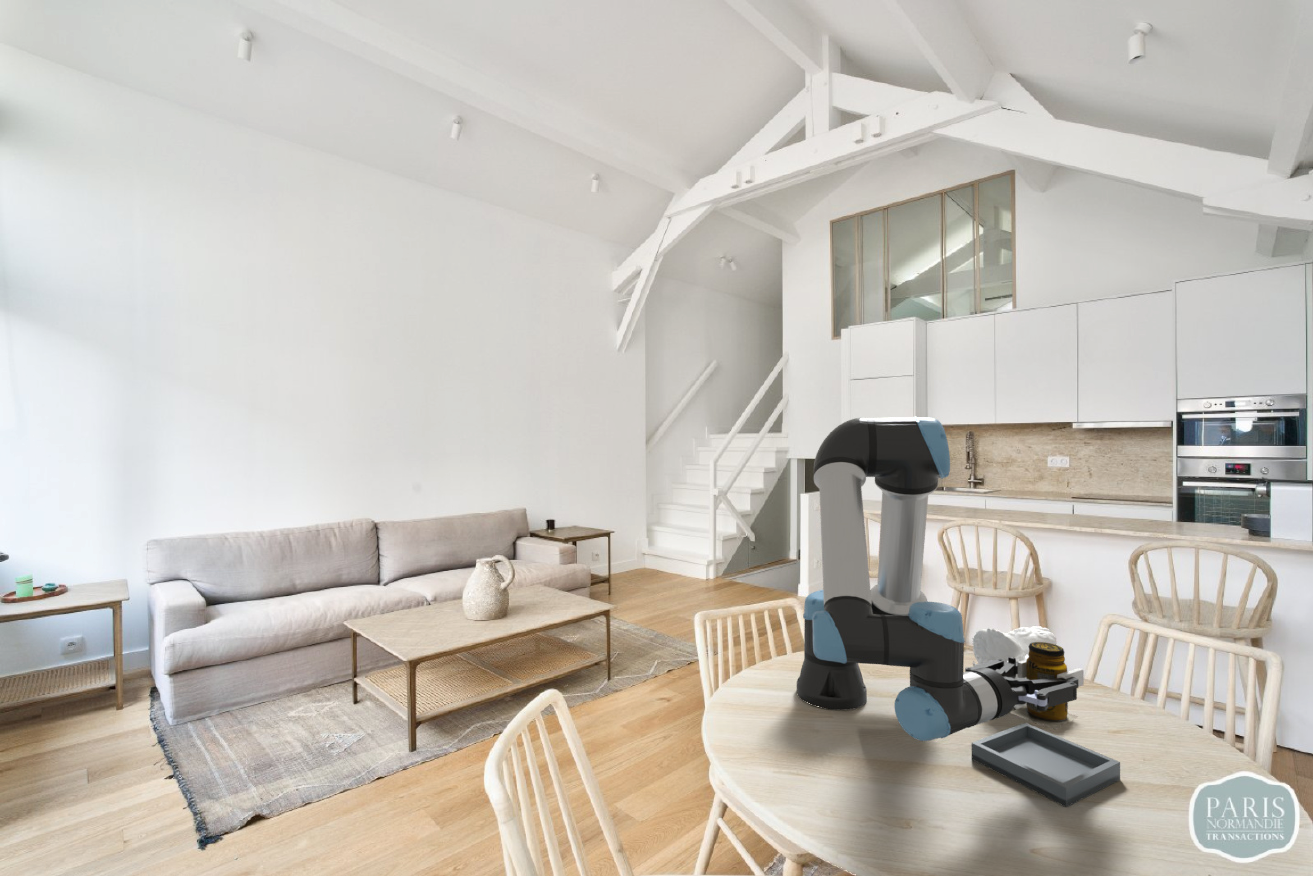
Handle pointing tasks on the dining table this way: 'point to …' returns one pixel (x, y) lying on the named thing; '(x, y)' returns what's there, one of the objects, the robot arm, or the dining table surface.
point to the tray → (1046, 763)
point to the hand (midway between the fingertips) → (1060, 670)
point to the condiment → (1045, 665)
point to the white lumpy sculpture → (1008, 644)
